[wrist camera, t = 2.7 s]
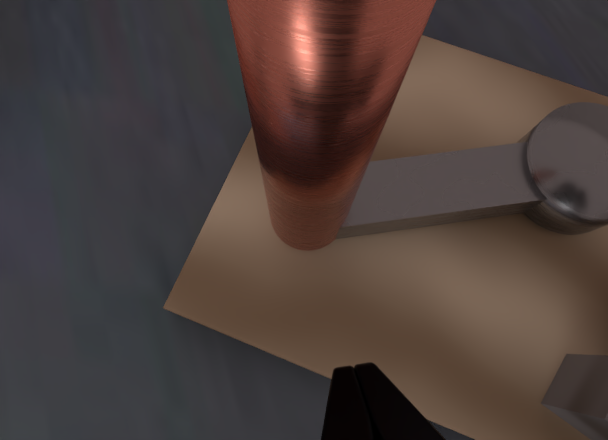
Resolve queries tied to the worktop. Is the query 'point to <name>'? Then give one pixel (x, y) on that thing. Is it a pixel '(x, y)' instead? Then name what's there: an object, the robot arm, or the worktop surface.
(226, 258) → the wooden board
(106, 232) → the worktop surface
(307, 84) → the lever
